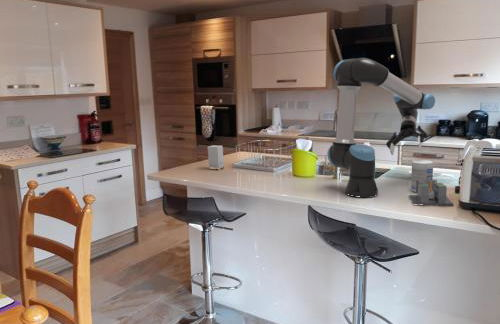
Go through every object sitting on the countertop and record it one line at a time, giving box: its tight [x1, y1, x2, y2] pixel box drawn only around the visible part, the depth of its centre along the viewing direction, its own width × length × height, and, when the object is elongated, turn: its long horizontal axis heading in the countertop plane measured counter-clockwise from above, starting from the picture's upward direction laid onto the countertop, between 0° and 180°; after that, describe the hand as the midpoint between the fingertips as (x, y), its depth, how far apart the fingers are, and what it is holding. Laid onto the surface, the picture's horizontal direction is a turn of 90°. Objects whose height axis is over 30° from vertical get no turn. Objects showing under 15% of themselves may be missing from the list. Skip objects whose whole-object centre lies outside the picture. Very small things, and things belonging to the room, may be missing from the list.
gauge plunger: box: [414, 179, 438, 199], centre depth 182 cm, size 10×9×8 cm
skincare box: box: [207, 144, 225, 168], centre depth 265 cm, size 8×7×16 cm
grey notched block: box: [408, 182, 454, 207], centre depth 178 cm, size 12×16×8 cm
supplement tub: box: [410, 159, 434, 193], centre depth 195 cm, size 10×10×15 cm
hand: (405, 149), depth 198 cm, fingers open, 13 cm apart
